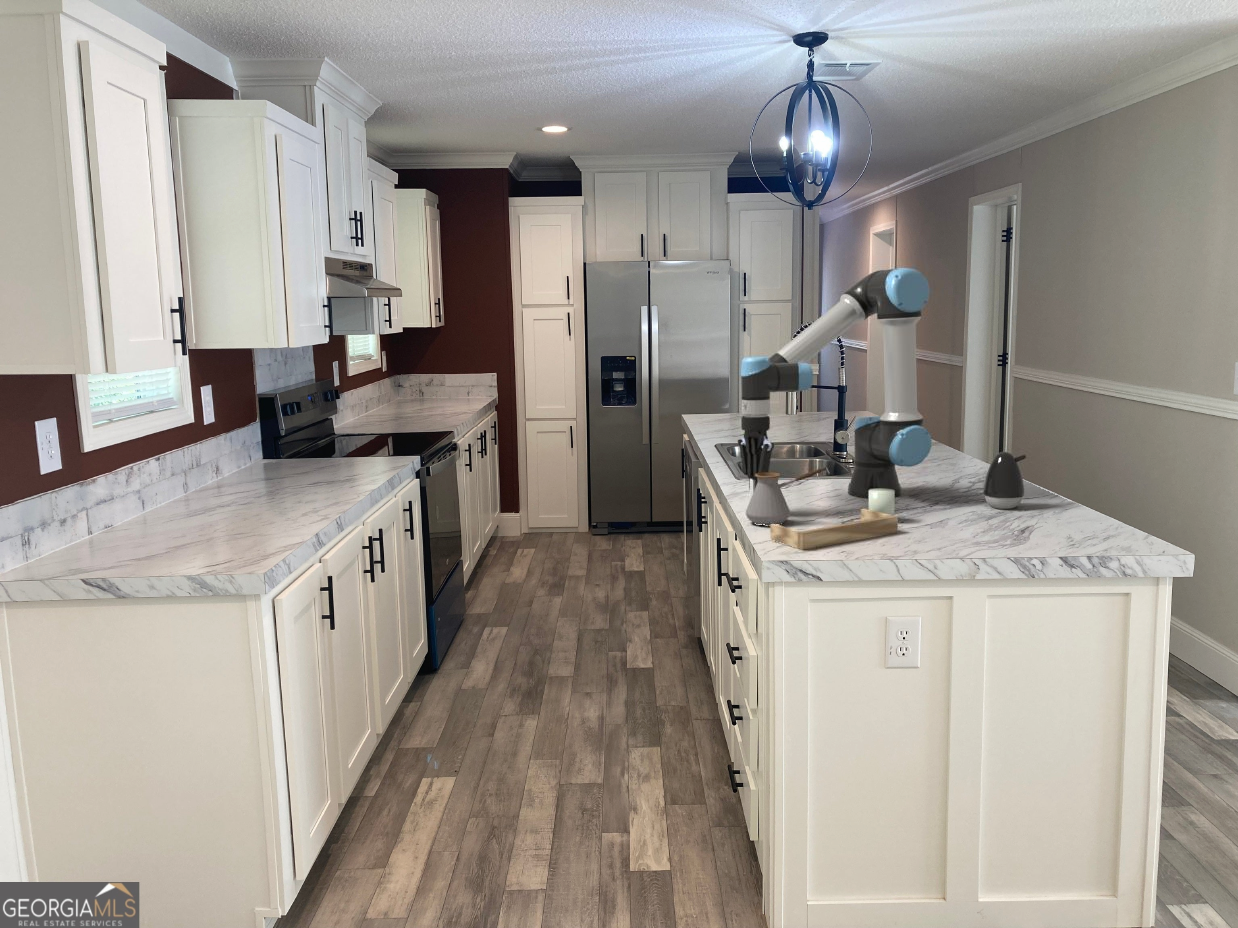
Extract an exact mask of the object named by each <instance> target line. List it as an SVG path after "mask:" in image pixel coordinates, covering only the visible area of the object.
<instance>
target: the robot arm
mask: <svg viewBox="0 0 1238 928" xmlns="http://www.w3.org/2000/svg"><path fill="white" fill-rule="evenodd" d="M929 297H930V285H929V282H928V280H927V278H926V277H925V275H923V274H922V272H920V271H919V270H917V269H914V268H907V267H897V268H893V269H892V268H890V269H882V270H880V269H879V270H875V271H873V272H870V273H869V274H868V275H865V276H864V277H863V278H861V280H859V281H857V282H856V283H855V284H854V285H853V286H851V288H849V289H848V290H847V291H845V292H844V293H843V294H842V295H840V299H839V301H838V302H837V303H836V304H835V305H834V306H833V307H831V308H830V309H829V310H827V311H826V312H825V313H824V314H822V315H821V316H820V317H819V318H818V319H816V320H815V321H814V322H812V323H811V324H810V325H809V326H807V327H806V328H805V329H804V330H803V331H802V332H800V333H799V334H798V335H796V336H795V337H794V338H793V339H792V340H790V341H789V342H788V343H787V344H785V345H784V346H782V347H781V349H779V350H778V351H776V352H775V353H774V354H772V355H771V356H770V357H768V356H748V357H744V358H743V359H742V361H741V367H740V377H741V378H740V380H741V381H740V383H741V414H742V415H743V416H741V417H740V418H741V419H740V421H741V424H740V425H741V427H740V428H741V430H742V431H744V432H743V437H742V438H741V439H738V440H737V444H738V447H739V451H740V458H741V464H742V470H743V475H744V476H747V478H748V488H749V501H750V500H751V497H752V495H753V493H754V490H755V488H756V485H757V483H758V480H757V477H756V476H755V474H757V473H769V471H770V470H769V469H770V464H771V459H772V458H771V457H772V453H773V452H772V451H773V449H774V448H775V443H774V442H772V443H771V442H770V441H769V440H768V439H769V437H768V431H770V428H771V417H770V416H769V415H770V414H771V393H780V392H781V393H782V392H783V393H786V392H799V393H800V392H804V391H809V390H810V389H811V387H812V385H813V384H814V371H813V369H812V367H811V365H810V364H809V363H807V362H809V361H810V360H812V358H815V356H816V355H818V354H819V353H820V352H821V351H822V350H824V349H825V348H826V347H828V346H829V345H831V343H832V342H834V341H835V340H836V339H837V338H838V337H840V336H842V334H844V333H845V332H846V331H847V330H849V329H850V328H851V327H852V326H854V325H855V324H856V323H862V322H864V321H865V320H866V319H868V318H869V317H872V316H873V315H874V316H875V314H876V320H877V322H879V324H881V325H882V331H883V332H882V333H883V340H882V341H883V377H884V378H883V379H884V381H883V382H884V383H883V384H884V412H883V414H881V415H880V416H865V417H859V418H857V419H856V420H855V423H854V430H853V432H854V463H853V464H854V467H853V471H852V475H851V478H850V482H849V483H848V486H847V493H848V494H849V495H850V496H854V497H859V498H868V499H869V490H870V489H877V488H883V489H892V490H894V491H895V497H899V496H900V495H902V485H901V484H900V482H899V477H898V473H897V470H896V466H898V467H908V468H909V467H910V468H911V467H915V466H918V465H919V464H921V463H923V461H925V459H926V458H927V457H928V456H929V454H930V452H931V450H932V437H931V434H930V432H929V431H928V430H927V429H926V428H925V427H924V416H923V415H922V414H921V413H920V412H919V411H918V390H917V389H918V388H917V386H918V384H917V382H918V381H917V379H918V377H917V333H916V332H917V330H916V329H917V323H918V322H919V321H920V319H922V309H923V308H924V307H925V306H926V303H927V302H928V301H929Z"/></svg>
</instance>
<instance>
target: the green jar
mask: <svg viewBox="0 0 1238 928" xmlns="http://www.w3.org/2000/svg"><path fill="white" fill-rule="evenodd" d="M895 497H896V496H895V491H894V490H892V489H883V488H877V489H870V490H869V498H868V509H867V510H871V511H876V512H880V513H884V514H889V515H893V516H895Z"/></svg>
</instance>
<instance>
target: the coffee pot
mask: <svg viewBox="0 0 1238 928" xmlns="http://www.w3.org/2000/svg"><path fill="white" fill-rule="evenodd" d="M824 471H827V473H828V475H830V471H829V468H828V466H823V467H821V468H817V469H816V470H812V471H808V472H806V473H805V474H801V475H800V476H797V477H795V478H793V479H790V480H787V481H785V482H782V483H778V482H779V479H780V477H781V474H780V473H778V472H768V473H757V474H755V476H756V477H757V480H758V483H757V485H756V488H755V490H754V493H753V495H752V497H751V500H750V499H749V502H748V504H747V506H746V510H745V515H746V518H747V519H748V520H749V521H751V522H752V523H753V522H754V523H756V524H762V525H763V524H765V525H770V524H781V523H782V522H783V523H784V522H786V521H787V520H788V519H789V518H790V516H791V511H790V508H789V506H788V504H787V501H786V499H785V496H784V494H783V491H782V489H781V488H783V487H786V486H788V485H790V484H791V485H792V484H793V483H795V482H799V481H802V480H805V479H807V478H810V477H812V476H815V475H817V474H821V472H824ZM781 525H782V524H781Z"/></svg>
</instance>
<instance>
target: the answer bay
mask: <svg viewBox="0 0 1238 928" xmlns="http://www.w3.org/2000/svg"><path fill="white" fill-rule="evenodd" d="M898 520H899V517H898V516H897V515H894V516H893V515H889V514H884V513H880V512H876V511H871V510H868V509H866V508H861V509H860V520H859V521H853V522H847V523H843V524H842V523H841V524H836V525H830V526H825V527H818V528H812V529H807V530H797V529H793V528H791V527H787V526H784V525H776V524H770V526H769V528H770V530H769V531H770V539H772V540H775V541H778V542H781V543H784V544H787V545H790V546H792V547H791V548H793V547H795V548H794V549H797V548H798V549H797V550H800V549H801V550H800V551H806V550H805V549H807V550H810V549H816V547H817V548H822V547H827V546H833V545H838V544H843V543H849V542H854V541H859V540H864V539H869V538H877V537H880V536H881V537H882V536H884V535H885V536H888V535H891V534H892V535H893V534H897V533H898V526H899V525H898V523H899V522H898ZM787 545H786V546H787ZM790 546H789V547H790Z"/></svg>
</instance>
